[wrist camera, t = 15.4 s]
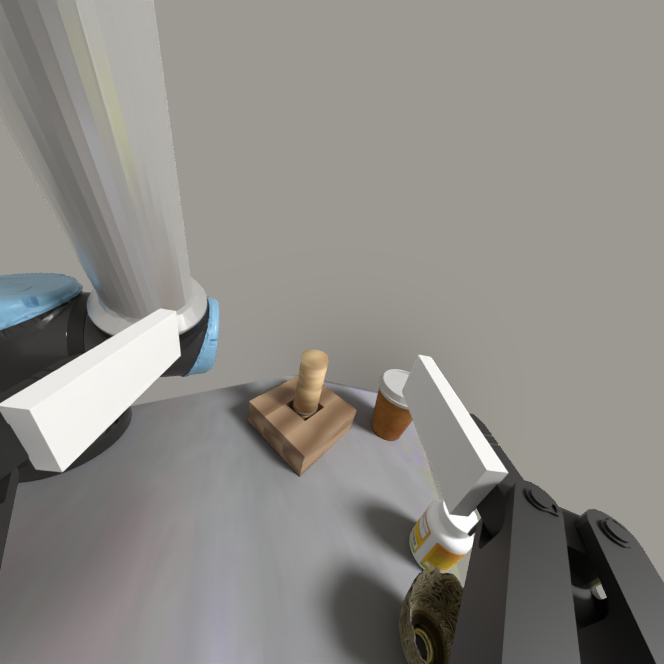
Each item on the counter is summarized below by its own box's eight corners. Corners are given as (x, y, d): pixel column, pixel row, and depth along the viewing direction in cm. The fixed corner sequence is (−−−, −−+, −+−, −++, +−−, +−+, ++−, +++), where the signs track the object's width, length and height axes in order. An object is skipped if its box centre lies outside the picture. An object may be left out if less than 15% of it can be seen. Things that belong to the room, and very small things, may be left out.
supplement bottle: (456, 562, 31) (494, 526, 27) (430, 587, 29) (467, 552, 24) (426, 518, 35) (454, 481, 31) (400, 536, 33) (427, 498, 28)
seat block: (248, 420, 44) (249, 401, 41) (302, 389, 54) (305, 371, 52) (299, 476, 37) (304, 456, 35) (350, 427, 47) (356, 410, 45)
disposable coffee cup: (395, 458, 43) (419, 411, 38) (354, 424, 48) (371, 378, 43) (415, 430, 50) (439, 388, 45) (378, 403, 55) (395, 362, 50)
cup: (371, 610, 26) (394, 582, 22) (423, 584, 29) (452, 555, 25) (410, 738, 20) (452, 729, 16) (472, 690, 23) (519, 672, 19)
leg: (284, 423, 45) (295, 354, 38) (302, 411, 48) (315, 346, 41) (301, 439, 43) (315, 369, 35) (318, 426, 46) (335, 359, 39)
